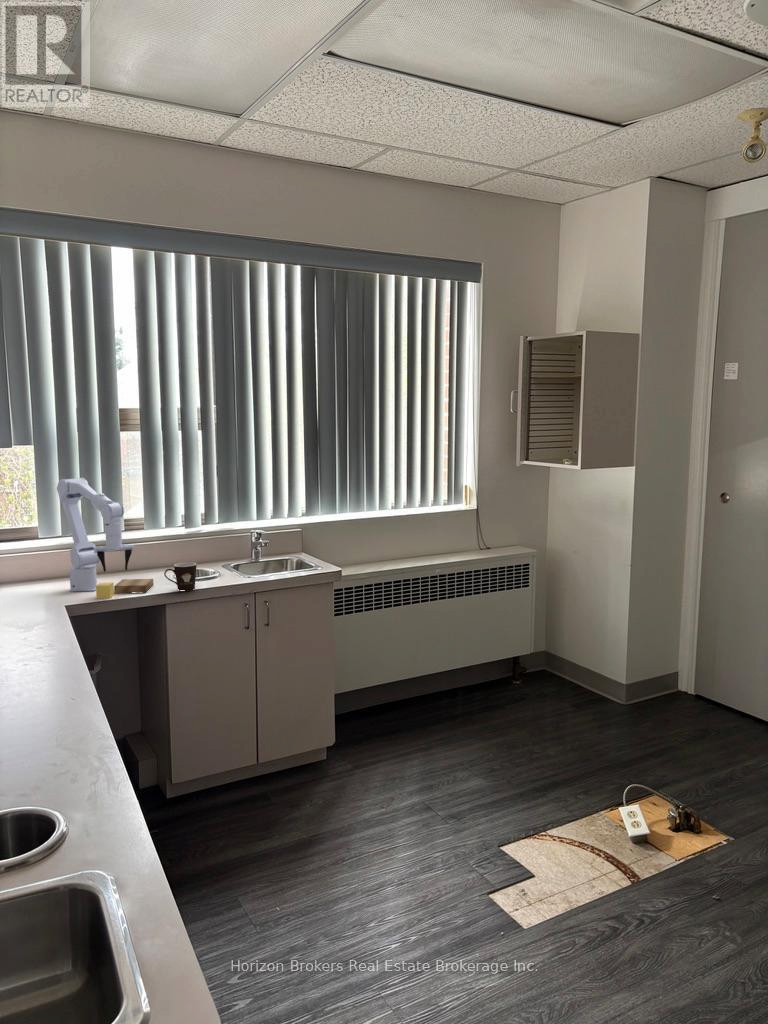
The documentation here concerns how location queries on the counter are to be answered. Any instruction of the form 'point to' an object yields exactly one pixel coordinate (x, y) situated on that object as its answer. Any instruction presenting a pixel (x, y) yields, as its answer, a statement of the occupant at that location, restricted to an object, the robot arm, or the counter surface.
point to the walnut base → (133, 585)
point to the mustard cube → (104, 590)
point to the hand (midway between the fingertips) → (115, 570)
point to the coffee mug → (184, 575)
